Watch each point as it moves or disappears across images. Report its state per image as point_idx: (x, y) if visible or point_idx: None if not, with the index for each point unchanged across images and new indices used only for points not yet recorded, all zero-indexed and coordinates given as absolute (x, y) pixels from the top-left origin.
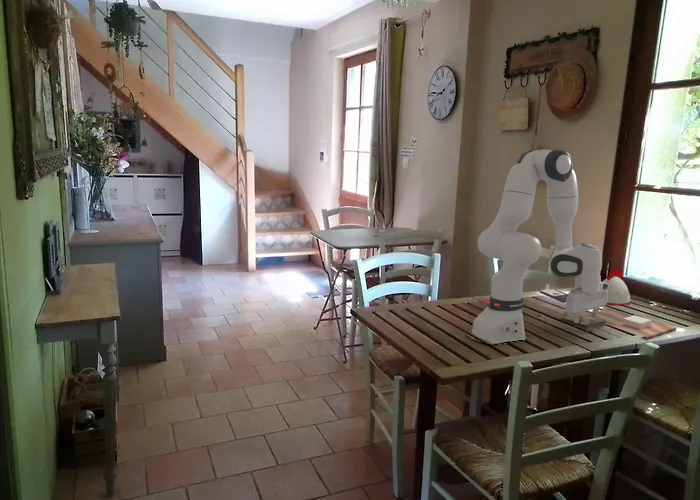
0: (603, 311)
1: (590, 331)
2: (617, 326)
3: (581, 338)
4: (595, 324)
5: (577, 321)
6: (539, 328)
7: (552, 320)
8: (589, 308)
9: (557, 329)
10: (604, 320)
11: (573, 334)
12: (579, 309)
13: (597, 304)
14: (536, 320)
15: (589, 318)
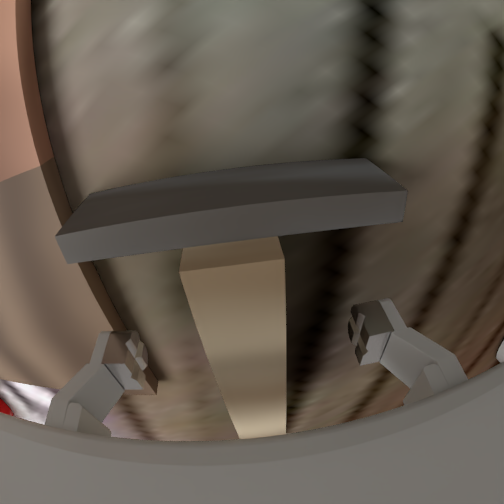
0: (4, 371)
1: (335, 161)
2: (6, 131)
3: (498, 110)
4: (266, 195)
5: (393, 311)
6: (470, 328)
7: (327, 393)
8: (275, 458)
9: (445, 298)
10: (71, 239)
11: (473, 193)
12: (492, 409)
13: (83, 479)
14: (380, 397)
15: (263, 319)
